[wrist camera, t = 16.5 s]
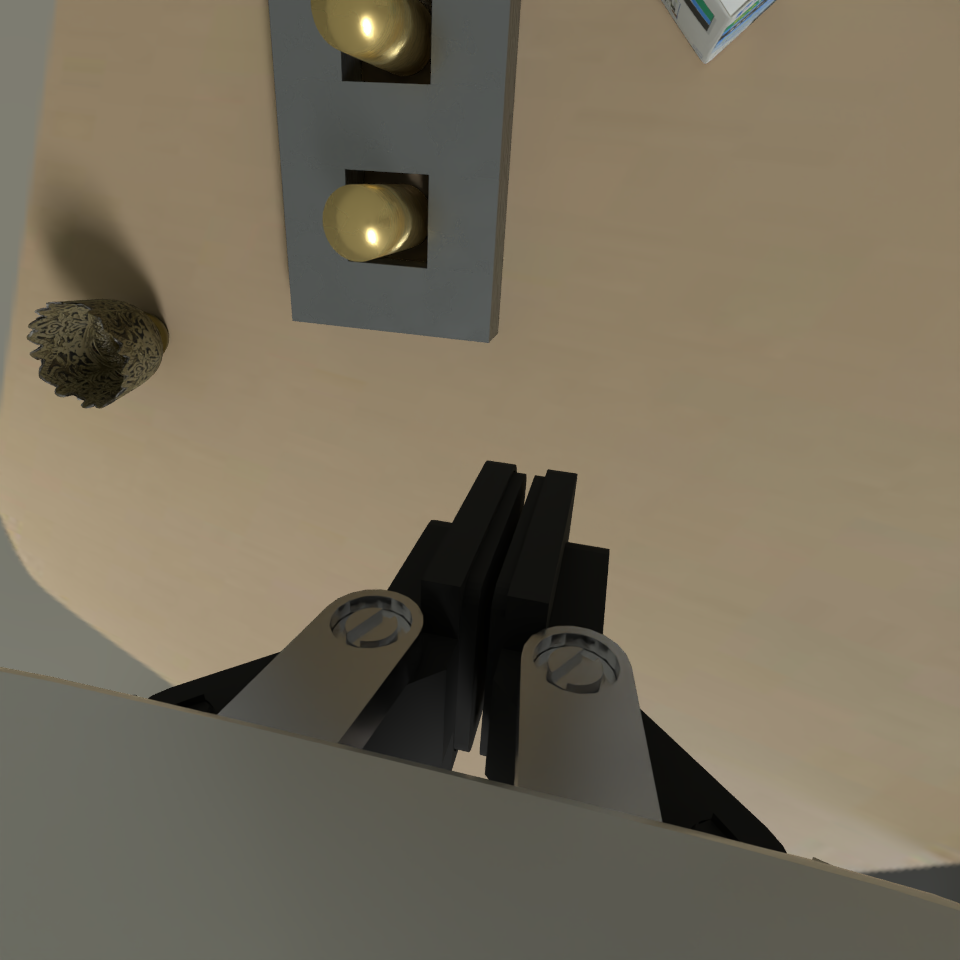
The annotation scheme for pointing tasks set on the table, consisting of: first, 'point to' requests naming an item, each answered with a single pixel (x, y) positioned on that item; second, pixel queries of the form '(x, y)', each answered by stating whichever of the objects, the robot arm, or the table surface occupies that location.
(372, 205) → the brass cylinder
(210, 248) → the table surface
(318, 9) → the seated bushing
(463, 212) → the jig
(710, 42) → the light bulb box
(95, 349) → the cup
